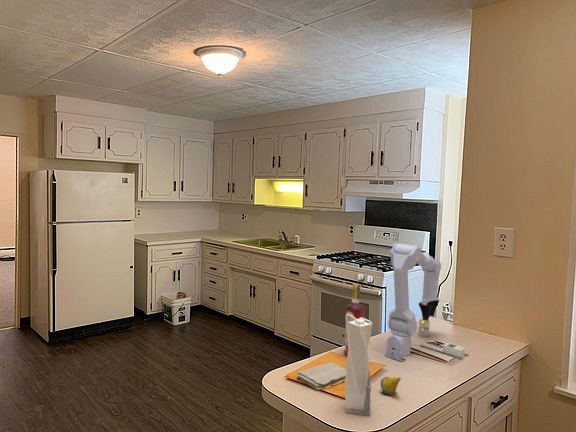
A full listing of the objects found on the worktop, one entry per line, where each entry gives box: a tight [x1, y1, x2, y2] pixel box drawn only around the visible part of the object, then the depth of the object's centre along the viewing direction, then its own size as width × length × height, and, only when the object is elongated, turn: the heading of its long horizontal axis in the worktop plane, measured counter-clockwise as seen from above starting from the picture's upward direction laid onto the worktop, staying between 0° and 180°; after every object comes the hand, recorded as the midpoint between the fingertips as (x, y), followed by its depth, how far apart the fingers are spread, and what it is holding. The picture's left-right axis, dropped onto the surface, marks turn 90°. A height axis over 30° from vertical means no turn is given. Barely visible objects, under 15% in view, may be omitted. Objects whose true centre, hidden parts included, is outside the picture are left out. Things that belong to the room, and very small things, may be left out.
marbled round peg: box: [417, 318, 431, 338], centre depth 189 cm, size 4×4×8 cm
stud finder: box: [442, 342, 466, 358], centre depth 169 cm, size 4×7×3 cm, turn 44°
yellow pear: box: [379, 376, 402, 396], centre depth 137 cm, size 5×5×10 cm
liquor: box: [343, 283, 366, 356], centre depth 166 cm, size 7×7×28 cm
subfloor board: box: [419, 341, 469, 361], centre depth 174 cm, size 20×21×2 cm
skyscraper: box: [344, 313, 374, 417], centre depth 127 cm, size 8×8×28 cm
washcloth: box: [296, 361, 346, 391], centre depth 147 cm, size 12×18×3 cm, turn 130°
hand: (428, 317), depth 185 cm, fingers open, 7 cm apart
